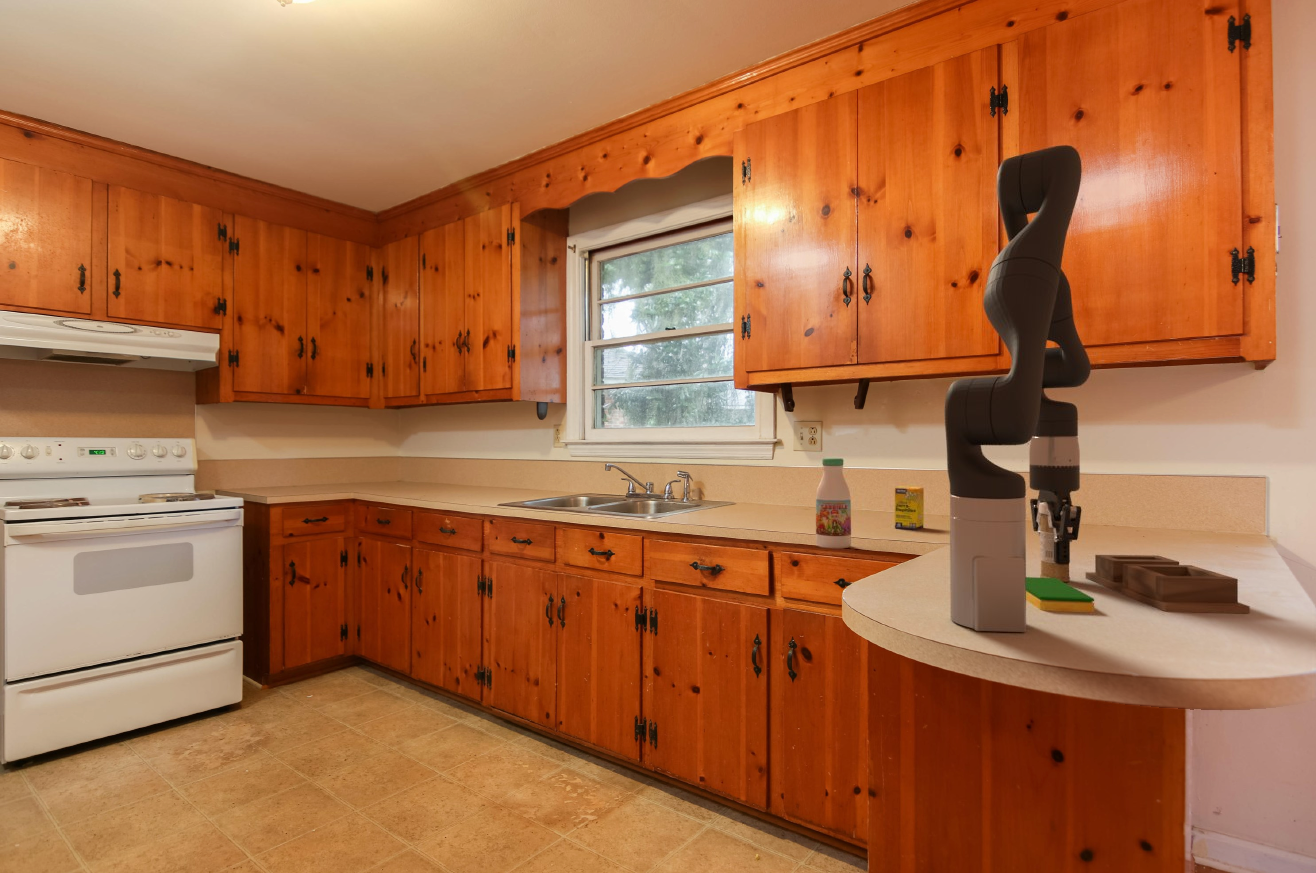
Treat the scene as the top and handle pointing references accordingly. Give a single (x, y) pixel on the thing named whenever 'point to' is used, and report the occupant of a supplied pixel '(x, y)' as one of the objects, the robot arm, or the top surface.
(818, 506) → the milk bottle
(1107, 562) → the socket holder
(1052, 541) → the sprinkles bottle
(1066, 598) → the dish sponge
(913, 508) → the supplement box
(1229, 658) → the top surface
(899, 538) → the top surface
